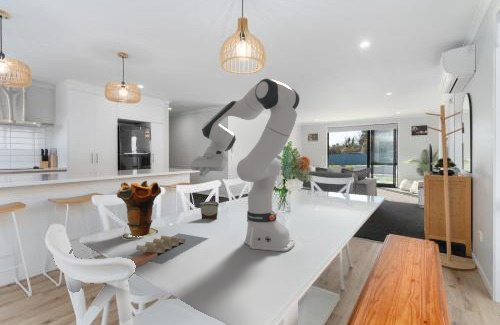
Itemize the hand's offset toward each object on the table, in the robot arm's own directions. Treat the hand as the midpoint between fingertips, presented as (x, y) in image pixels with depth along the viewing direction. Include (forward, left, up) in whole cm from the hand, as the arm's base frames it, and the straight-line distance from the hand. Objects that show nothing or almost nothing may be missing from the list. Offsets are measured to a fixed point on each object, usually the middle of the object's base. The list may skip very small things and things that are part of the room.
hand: (201, 175), depth 123 cm
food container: (+13, -26, -30) cm, 41 cm away
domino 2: (0, +32, -28) cm, 43 cm away
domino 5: (0, +16, -28) cm, 32 cm away
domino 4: (0, +20, -28) cm, 35 cm away
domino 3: (0, +24, -28) cm, 37 cm away
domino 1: (0, +28, -28) cm, 40 cm away
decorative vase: (+28, +14, -30) cm, 43 cm away
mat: (0, +22, -29) cm, 37 cm away
